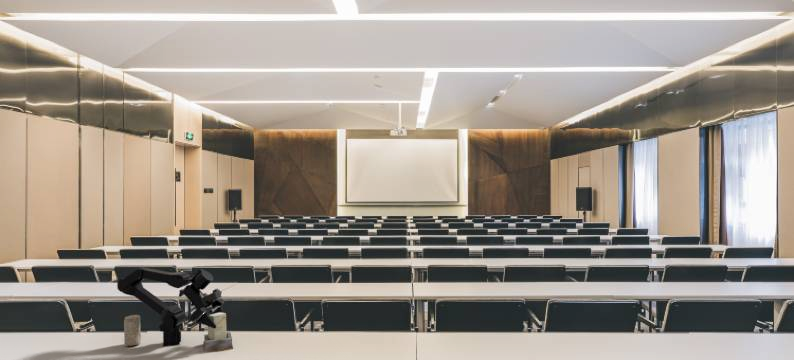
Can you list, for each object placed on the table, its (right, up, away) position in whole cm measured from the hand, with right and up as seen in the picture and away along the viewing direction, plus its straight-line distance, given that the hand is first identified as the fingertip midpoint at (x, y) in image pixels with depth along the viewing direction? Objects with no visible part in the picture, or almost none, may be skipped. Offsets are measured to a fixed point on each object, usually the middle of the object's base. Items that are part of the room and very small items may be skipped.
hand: (221, 324), depth 214 cm
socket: (-1, -9, 0) cm, 9 cm away
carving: (-38, -9, +2) cm, 39 cm away
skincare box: (-1, -8, 0) cm, 8 cm away
